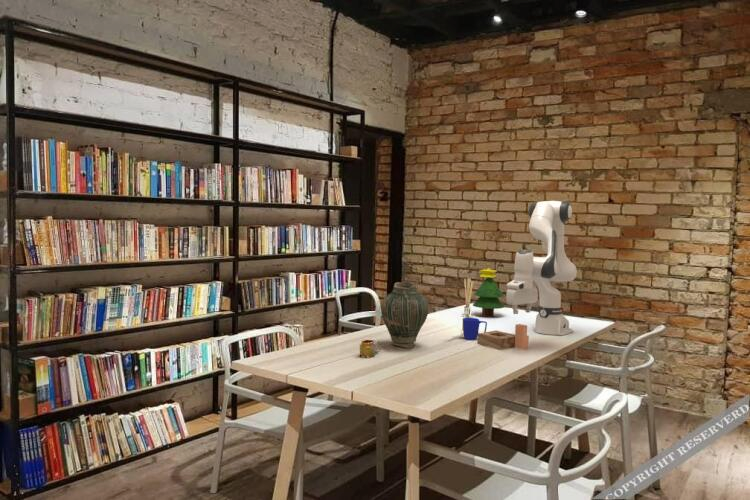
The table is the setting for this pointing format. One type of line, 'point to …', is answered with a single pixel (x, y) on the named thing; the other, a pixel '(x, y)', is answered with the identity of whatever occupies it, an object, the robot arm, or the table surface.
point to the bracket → (521, 336)
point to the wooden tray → (496, 339)
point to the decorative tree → (488, 294)
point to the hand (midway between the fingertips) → (521, 313)
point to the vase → (404, 313)
